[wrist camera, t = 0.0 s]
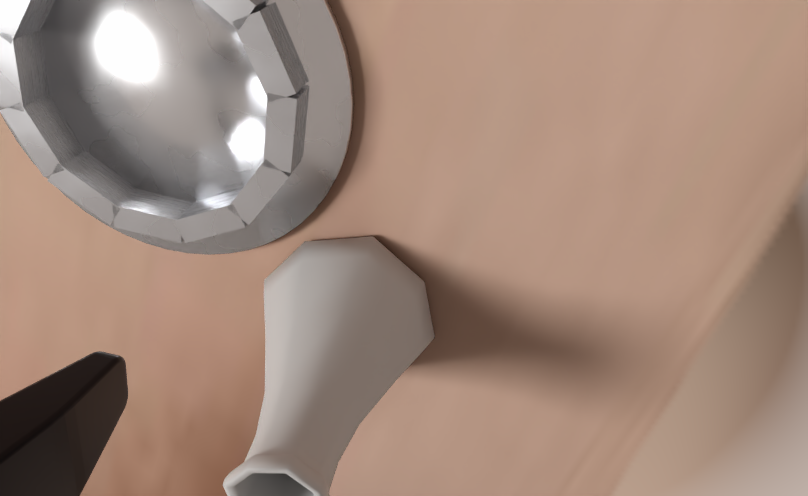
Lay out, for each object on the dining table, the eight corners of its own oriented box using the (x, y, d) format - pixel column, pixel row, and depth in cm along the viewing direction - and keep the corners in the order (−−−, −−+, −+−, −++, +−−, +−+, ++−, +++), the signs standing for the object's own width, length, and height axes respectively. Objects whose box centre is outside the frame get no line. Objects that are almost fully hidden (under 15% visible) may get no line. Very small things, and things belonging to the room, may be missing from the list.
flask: (382, 206, 24) (312, 386, 16) (463, 342, 27) (439, 556, 19) (237, 267, 27) (111, 449, 19) (325, 385, 30) (250, 590, 22)
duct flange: (330, 282, 27) (318, 309, 25) (15, 207, 27) (-16, 229, 26) (381, -87, 19) (369, -82, 18) (-55, -180, 20) (-106, -184, 18)
